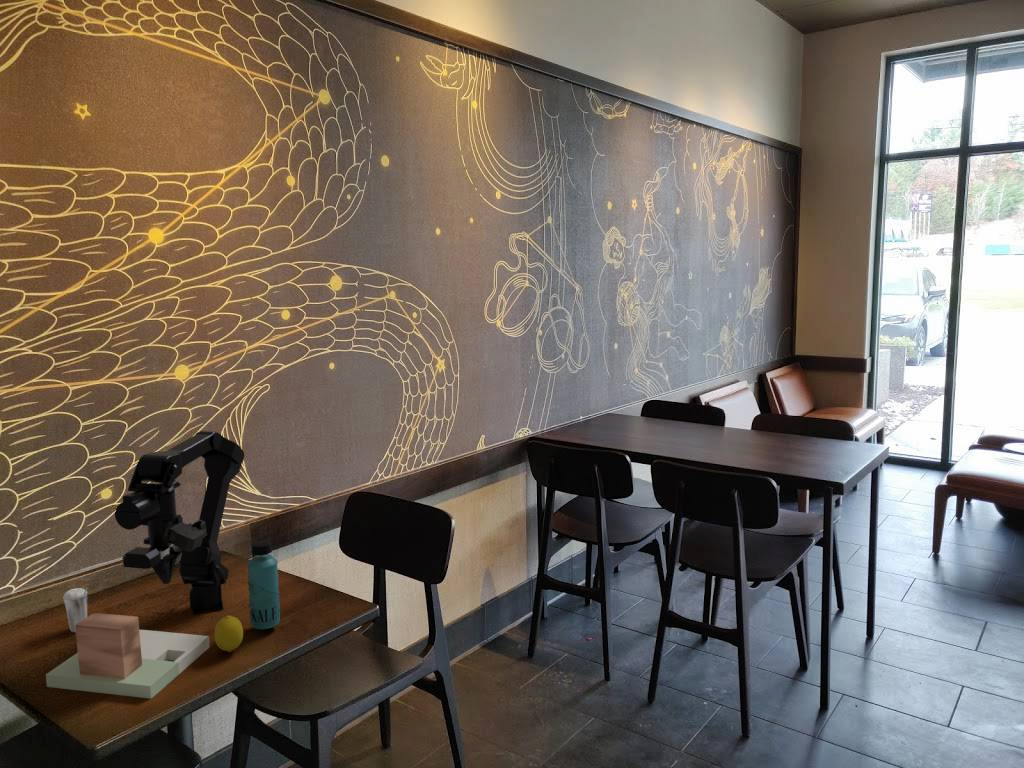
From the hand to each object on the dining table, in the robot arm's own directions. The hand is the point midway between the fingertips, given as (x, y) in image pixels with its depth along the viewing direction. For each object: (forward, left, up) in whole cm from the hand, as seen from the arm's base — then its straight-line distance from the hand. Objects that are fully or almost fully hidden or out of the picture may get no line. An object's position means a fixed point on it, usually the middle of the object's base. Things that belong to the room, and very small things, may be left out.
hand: (166, 583), depth 160 cm
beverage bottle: (-19, +5, -12) cm, 23 cm away
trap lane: (+7, +10, -12) cm, 17 cm away
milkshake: (+18, -12, -12) cm, 25 cm away
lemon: (-11, +12, -12) cm, 21 cm away
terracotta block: (+10, +15, -10) cm, 21 cm away
